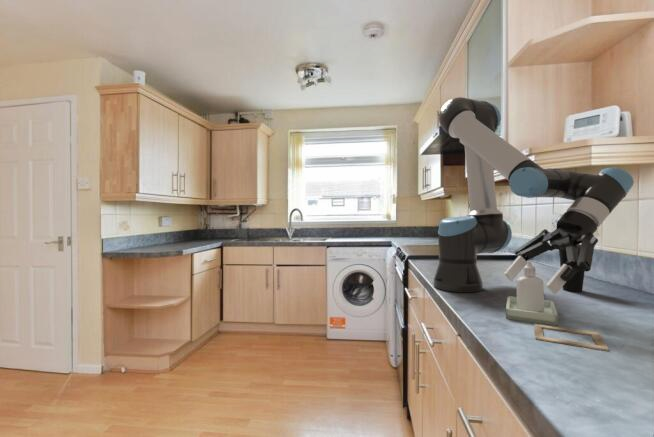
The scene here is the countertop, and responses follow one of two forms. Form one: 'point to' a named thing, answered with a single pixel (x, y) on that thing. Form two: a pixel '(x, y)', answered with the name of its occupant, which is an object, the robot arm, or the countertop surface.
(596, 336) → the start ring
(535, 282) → the eye dropper bottle
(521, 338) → the countertop surface
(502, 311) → the countertop surface
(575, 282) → the drinking cup
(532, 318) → the tray
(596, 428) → the countertop surface
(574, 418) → the countertop surface
